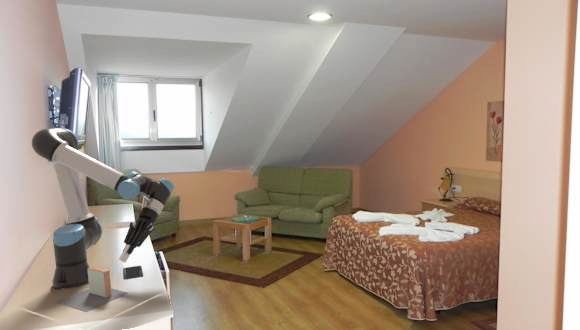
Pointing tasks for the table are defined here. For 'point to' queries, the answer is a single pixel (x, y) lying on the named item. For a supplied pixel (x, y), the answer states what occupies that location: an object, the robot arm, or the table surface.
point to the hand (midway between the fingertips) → (122, 260)
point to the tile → (99, 281)
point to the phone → (132, 272)
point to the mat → (90, 300)
